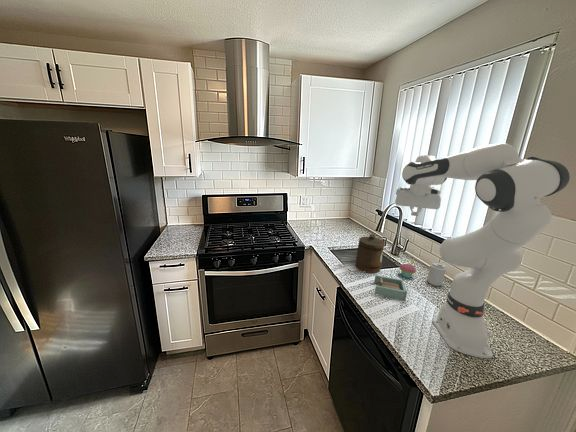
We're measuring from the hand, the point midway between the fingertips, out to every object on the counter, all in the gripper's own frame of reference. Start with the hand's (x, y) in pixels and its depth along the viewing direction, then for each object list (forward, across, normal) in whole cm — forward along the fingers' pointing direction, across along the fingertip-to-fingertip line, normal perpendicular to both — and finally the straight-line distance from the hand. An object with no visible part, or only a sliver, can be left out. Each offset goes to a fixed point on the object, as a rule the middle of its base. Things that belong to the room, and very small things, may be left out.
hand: (414, 215), depth 122 cm
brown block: (+39, -8, -11) cm, 41 cm away
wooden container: (+39, -18, +12) cm, 45 cm away
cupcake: (+39, +4, +10) cm, 41 cm away
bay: (+39, -8, -11) cm, 41 cm away
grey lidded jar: (+39, +18, +7) cm, 44 cm away
